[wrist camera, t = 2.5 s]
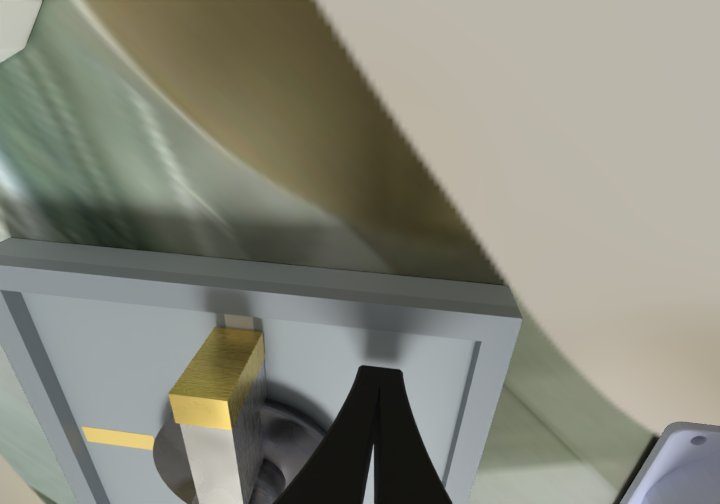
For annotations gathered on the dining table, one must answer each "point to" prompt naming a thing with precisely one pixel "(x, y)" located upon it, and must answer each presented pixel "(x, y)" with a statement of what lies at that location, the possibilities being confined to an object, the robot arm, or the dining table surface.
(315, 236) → the dining table surface
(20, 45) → the white cup
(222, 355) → the dial
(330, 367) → the dial plate
